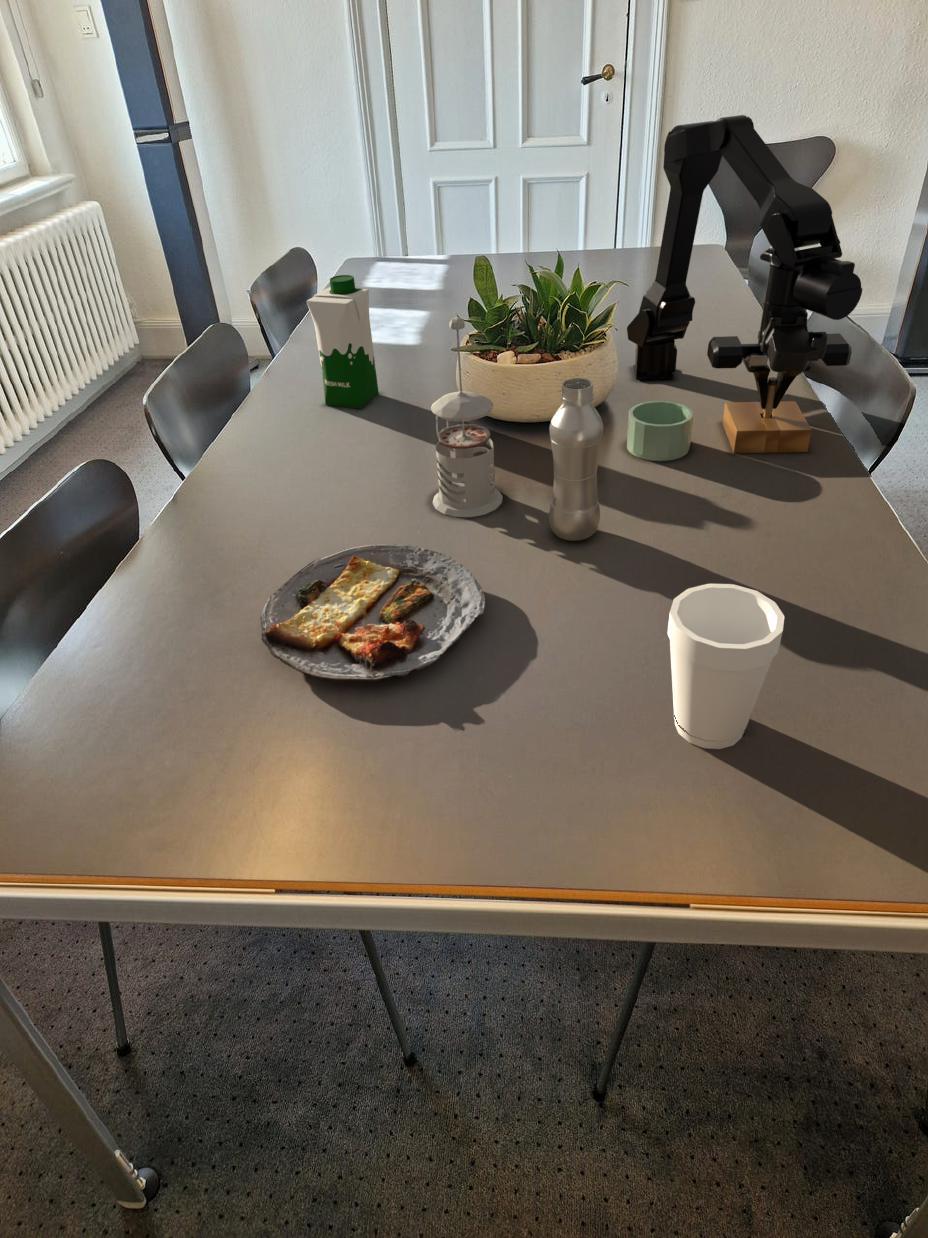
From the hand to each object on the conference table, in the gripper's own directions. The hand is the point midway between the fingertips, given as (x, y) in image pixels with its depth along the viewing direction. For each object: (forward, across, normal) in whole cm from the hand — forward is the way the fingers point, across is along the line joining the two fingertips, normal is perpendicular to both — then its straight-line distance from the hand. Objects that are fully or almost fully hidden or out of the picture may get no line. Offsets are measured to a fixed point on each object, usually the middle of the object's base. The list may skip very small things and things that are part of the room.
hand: (768, 407), depth 126 cm
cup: (+5, -16, -3) cm, 17 cm away
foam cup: (+5, -17, -63) cm, 65 cm away
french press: (+5, -44, -18) cm, 48 cm away
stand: (+5, 0, 0) cm, 5 cm away
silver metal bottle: (+5, -29, -28) cm, 41 cm away
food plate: (+5, -52, -47) cm, 70 cm away
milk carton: (+5, -67, +18) cm, 70 cm away
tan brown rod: (+4, 0, 0) cm, 4 cm away
